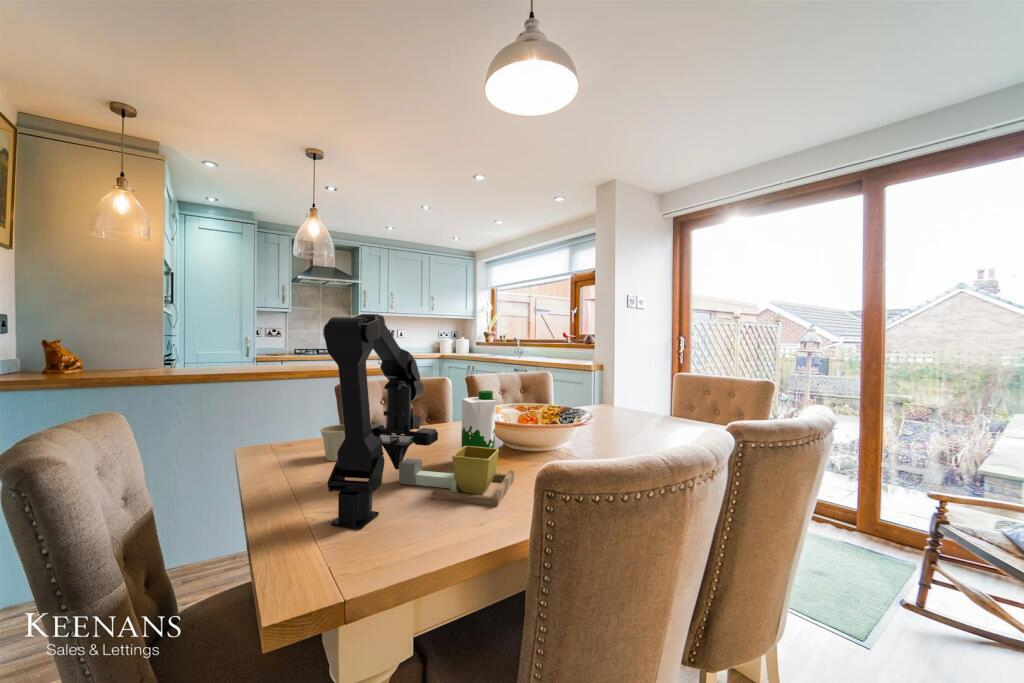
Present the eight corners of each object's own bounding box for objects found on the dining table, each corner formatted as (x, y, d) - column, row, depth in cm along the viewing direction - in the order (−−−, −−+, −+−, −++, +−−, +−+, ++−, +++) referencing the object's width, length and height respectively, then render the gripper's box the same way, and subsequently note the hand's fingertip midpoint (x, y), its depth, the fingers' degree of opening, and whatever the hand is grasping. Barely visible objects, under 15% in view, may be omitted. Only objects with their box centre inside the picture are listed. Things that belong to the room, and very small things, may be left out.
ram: (455, 493, 93) (455, 471, 93) (394, 486, 96) (394, 465, 96) (467, 481, 101) (467, 460, 101) (410, 475, 104) (410, 455, 104)
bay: (497, 506, 87) (497, 494, 87) (431, 498, 90) (431, 487, 90) (513, 480, 102) (513, 470, 102) (456, 475, 105) (456, 465, 105)
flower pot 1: (322, 454, 121) (322, 425, 121) (356, 452, 124) (356, 423, 124) (317, 464, 112) (317, 433, 112) (354, 461, 115) (354, 431, 115)
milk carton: (498, 465, 114) (499, 393, 113) (467, 469, 110) (468, 395, 110) (486, 456, 122) (487, 389, 121) (457, 459, 118) (458, 390, 118)
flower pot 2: (498, 485, 99) (499, 448, 99) (488, 499, 90) (488, 459, 90) (464, 481, 101) (465, 445, 101) (450, 495, 92) (451, 455, 92)
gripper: (446, 402, 106) (445, 462, 106) (381, 398, 110) (380, 456, 110) (428, 410, 95) (427, 477, 96) (357, 405, 99) (356, 469, 100)
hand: (397, 469), depth 101 cm, fingers closed
